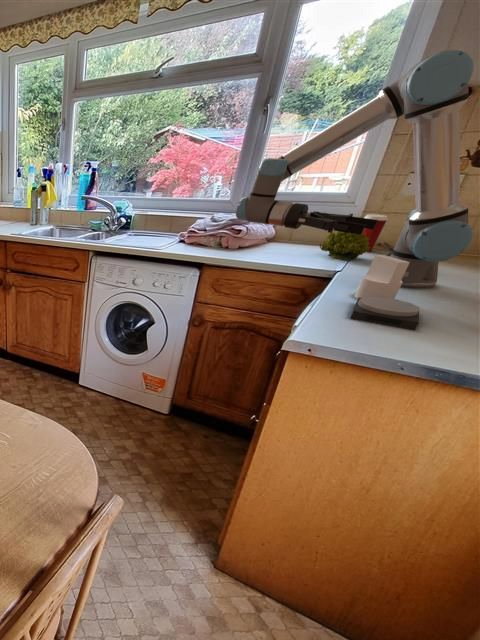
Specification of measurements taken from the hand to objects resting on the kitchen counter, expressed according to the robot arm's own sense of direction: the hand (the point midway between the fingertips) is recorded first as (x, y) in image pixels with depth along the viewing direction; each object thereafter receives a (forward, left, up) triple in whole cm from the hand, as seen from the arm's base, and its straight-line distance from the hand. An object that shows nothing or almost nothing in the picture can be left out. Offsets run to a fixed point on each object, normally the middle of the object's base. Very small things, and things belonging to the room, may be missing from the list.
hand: (369, 227), depth 126 cm
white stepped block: (+2, +8, -20) cm, 21 cm away
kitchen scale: (+19, +11, -20) cm, 29 cm away
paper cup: (-75, 0, -20) cm, 78 cm away
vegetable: (-55, -5, -20) cm, 59 cm away
